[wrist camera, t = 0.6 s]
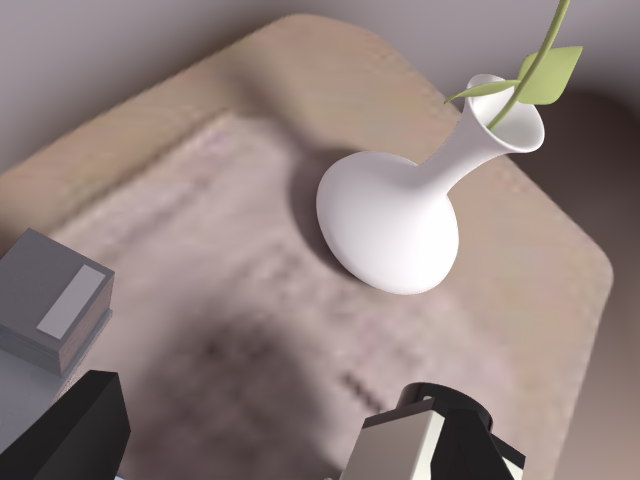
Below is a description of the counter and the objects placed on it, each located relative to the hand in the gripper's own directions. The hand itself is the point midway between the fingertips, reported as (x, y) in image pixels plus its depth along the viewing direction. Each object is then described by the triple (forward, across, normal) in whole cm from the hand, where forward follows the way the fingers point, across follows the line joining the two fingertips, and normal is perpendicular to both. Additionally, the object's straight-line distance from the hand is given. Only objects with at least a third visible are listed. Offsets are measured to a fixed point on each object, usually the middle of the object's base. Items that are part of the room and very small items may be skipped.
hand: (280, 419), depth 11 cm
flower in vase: (+24, -3, +10) cm, 27 cm away
